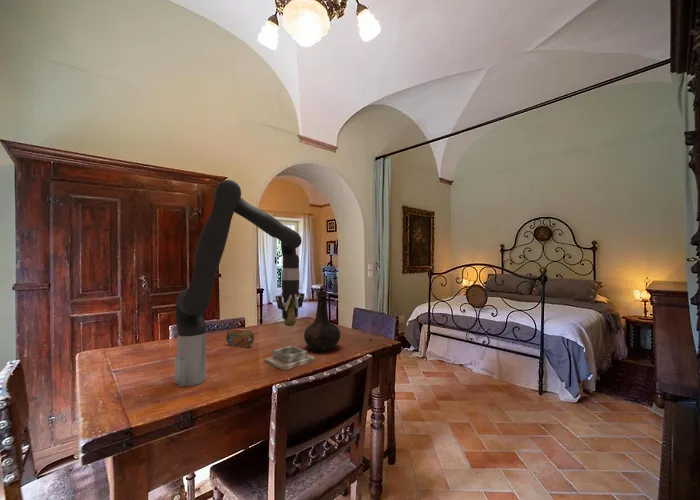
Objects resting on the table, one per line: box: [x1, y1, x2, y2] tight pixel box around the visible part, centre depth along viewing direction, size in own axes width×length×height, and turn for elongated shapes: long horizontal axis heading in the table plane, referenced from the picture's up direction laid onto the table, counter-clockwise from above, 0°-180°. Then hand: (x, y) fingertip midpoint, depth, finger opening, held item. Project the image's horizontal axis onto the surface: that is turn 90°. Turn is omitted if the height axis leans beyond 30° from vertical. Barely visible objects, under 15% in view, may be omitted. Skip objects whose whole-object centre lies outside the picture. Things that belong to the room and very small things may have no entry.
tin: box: [225, 328, 255, 348], centre depth 153 cm, size 15×3×8 cm, turn 73°
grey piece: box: [264, 345, 316, 371], centre depth 131 cm, size 16×14×4 cm
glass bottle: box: [303, 290, 341, 352], centre depth 150 cm, size 18×18×28 cm
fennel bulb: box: [283, 298, 297, 327], centre depth 132 cm, size 6×5×12 cm
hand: (290, 318), depth 132 cm, fingers closed on fennel bulb, 4 cm apart
